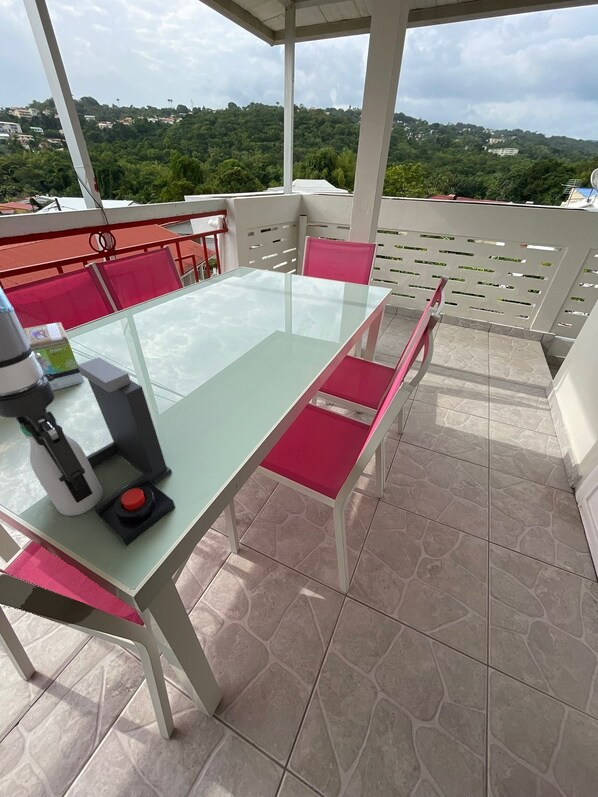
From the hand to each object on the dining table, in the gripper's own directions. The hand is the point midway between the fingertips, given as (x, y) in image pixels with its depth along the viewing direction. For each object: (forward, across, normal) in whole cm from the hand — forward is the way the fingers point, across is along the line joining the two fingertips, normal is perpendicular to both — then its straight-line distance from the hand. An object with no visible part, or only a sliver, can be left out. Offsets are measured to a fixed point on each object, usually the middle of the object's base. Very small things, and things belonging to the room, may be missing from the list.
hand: (73, 486), depth 62 cm
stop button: (+1, -12, -5) cm, 13 cm away
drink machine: (+4, 0, -7) cm, 9 cm away
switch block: (+4, -12, -5) cm, 14 cm away
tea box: (+4, +52, -19) cm, 56 cm away
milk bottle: (+4, 0, 0) cm, 4 cm away
